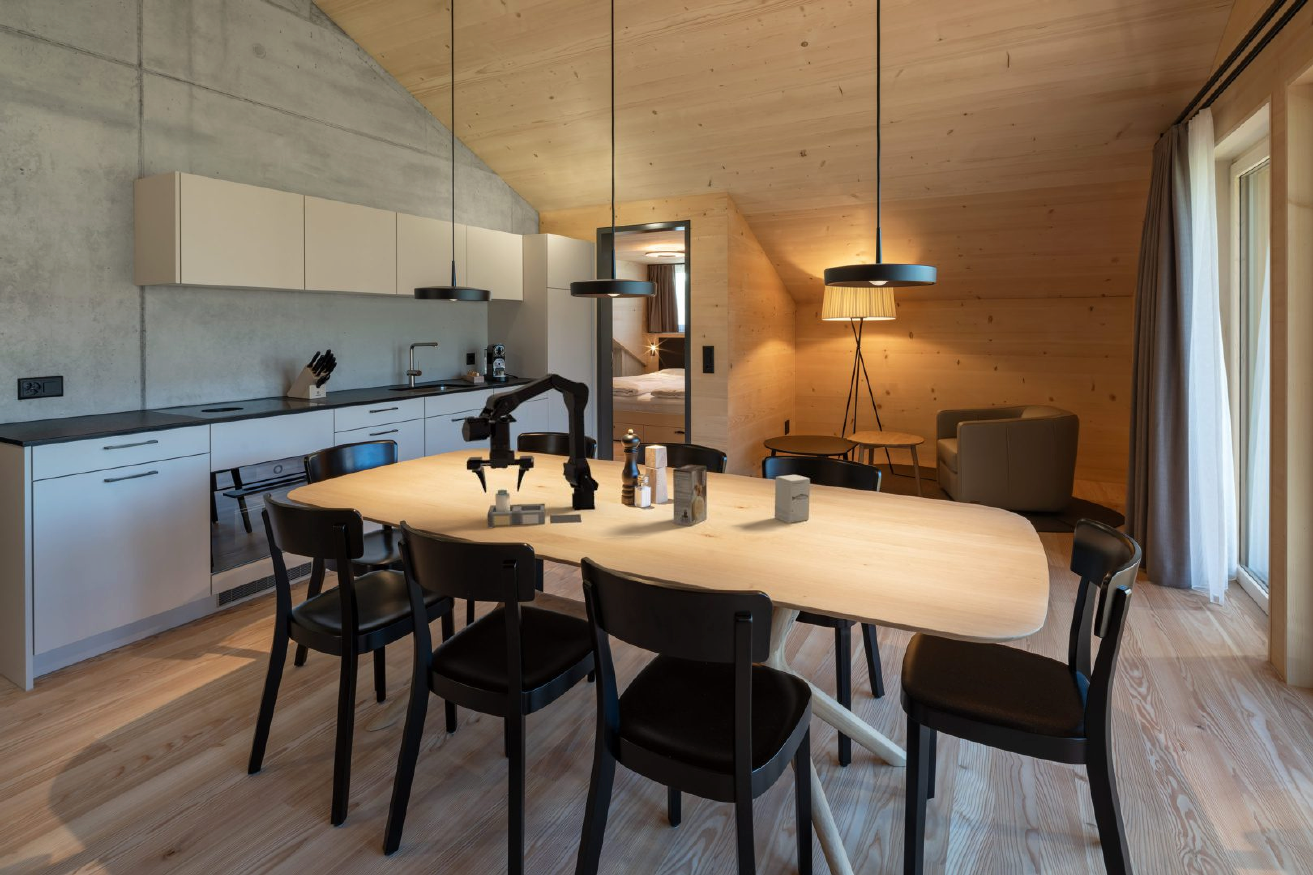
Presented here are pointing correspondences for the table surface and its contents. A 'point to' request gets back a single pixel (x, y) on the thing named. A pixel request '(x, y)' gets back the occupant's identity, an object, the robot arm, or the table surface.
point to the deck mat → (565, 518)
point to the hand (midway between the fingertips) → (501, 491)
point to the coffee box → (690, 494)
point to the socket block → (517, 515)
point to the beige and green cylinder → (502, 501)
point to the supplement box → (792, 498)
